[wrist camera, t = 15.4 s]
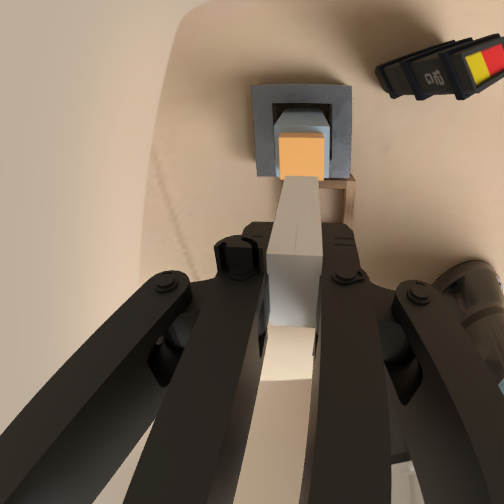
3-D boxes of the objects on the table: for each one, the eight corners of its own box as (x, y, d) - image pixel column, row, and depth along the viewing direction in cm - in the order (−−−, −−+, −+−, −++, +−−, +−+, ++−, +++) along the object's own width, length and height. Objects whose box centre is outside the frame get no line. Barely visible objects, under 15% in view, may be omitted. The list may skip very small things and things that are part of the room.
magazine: (349, 77, 26) (455, 50, 12) (420, 47, 26) (513, 30, 12) (365, 107, 27) (475, 100, 14) (432, 73, 27) (526, 66, 13)
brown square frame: (348, 233, 38) (349, 241, 36) (288, 231, 39) (287, 239, 38) (353, 175, 34) (355, 181, 32) (287, 173, 35) (286, 178, 33)
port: (345, 167, 33) (349, 178, 30) (262, 165, 35) (257, 176, 32) (346, 85, 28) (351, 85, 25) (256, 84, 30) (250, 85, 26)
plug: (321, 142, 32) (330, 187, 20) (286, 141, 33) (273, 186, 21) (320, 108, 30) (331, 131, 18) (285, 108, 31) (270, 130, 18)
